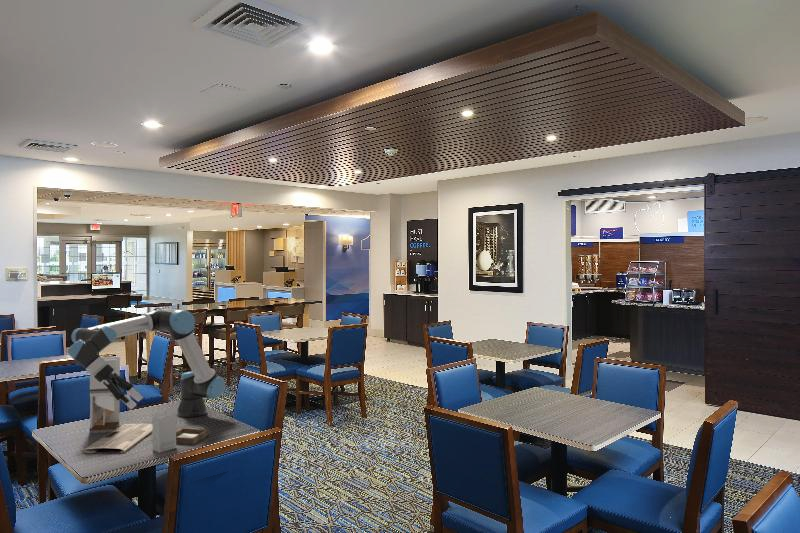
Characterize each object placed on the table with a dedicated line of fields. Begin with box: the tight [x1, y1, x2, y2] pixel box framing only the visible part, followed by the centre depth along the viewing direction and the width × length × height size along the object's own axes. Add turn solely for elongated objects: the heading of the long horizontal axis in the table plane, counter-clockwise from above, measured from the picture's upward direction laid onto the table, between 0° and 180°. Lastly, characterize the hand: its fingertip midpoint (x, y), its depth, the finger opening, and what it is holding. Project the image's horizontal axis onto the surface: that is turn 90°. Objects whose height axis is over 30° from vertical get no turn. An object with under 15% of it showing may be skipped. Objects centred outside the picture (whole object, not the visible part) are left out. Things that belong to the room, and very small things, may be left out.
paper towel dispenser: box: [89, 355, 121, 434], centre depth 275 cm, size 11×11×35 cm
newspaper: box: [82, 423, 153, 454], centre depth 260 cm, size 37×19×3 cm, turn 2°
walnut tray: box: [176, 427, 209, 446], centre depth 261 cm, size 14×14×3 cm
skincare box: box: [152, 411, 177, 454], centre depth 247 cm, size 8×7×16 cm
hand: (137, 403), depth 244 cm, fingers open, 13 cm apart
